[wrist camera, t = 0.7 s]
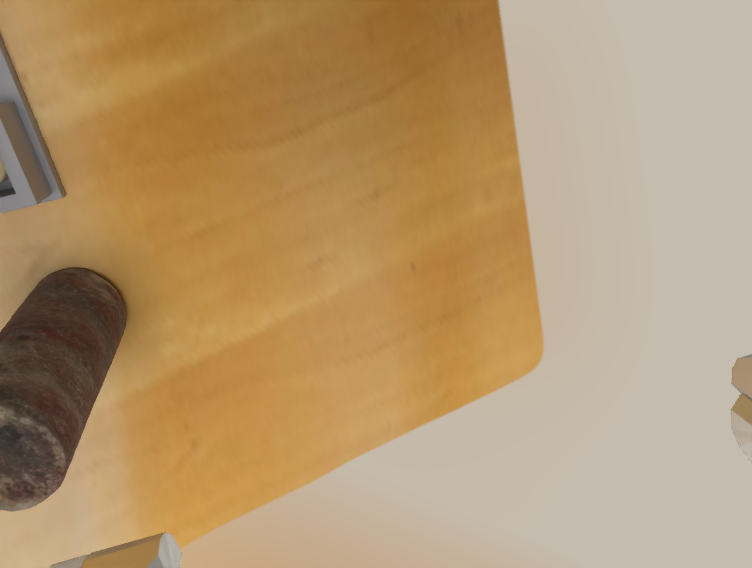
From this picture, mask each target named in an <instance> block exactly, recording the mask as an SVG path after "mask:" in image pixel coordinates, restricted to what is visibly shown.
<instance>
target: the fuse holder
mask: <svg viewBox="0 0 752 568" xmlns="http://www.w3.org/2000/svg"><path fill="white" fill-rule="evenodd" d="M0 159H1V161H2V163H3V165H4V168H5V170H6V172H7V174H8V177H9V178H8V179H7V180H6V181H4V182H3V183H1V184H0V213H3V212H8V211H12V210H16V209H20V208H24V207H29V206H33V205H37V204H39V203H43V202H48V201H52V200H56V199H60V198H63V197H64V196H65V195H66V193H65V191H64V188H63V186H62V184H61V181H60V179H59V176H58V174H57V171H56V169H55V167H54V164H53V162H52V159H51V157H50V154H49V152H48V150H47V147H46V145H45V142H44V140H43V137H42V135H41V133H40V130H39V128H38V125H37V123H36V120H35V118H34V116H33V113H32V111H31V108H30V106H29V103H28V101H27V99H26V96H25V94H24V91H23V89H22V86H21V84H20V82H19V79H18V77H17V74H16V72H15V69H14V67H13V65H12V62H11V60H10V57H9V55H8V52H7V50H6V48H5V45H4V43H3V40H2V38H1V35H0Z"/></svg>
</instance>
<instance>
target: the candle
mask: <svg viewBox="0 0 752 568" xmlns="http://www.w3.org/2000/svg"><path fill="white" fill-rule="evenodd" d="M125 325H126V311H125V307H124V305H123V302H122V300H121V298H120V296H119V294H118V292H117V291H116V289H115V288H114V287H113V286H112V285H110V284H109V283H108V282H107V281H105V280H103V279H102V278H101V277H99V276H97V275H96V274H94V273H93V272H92V271H89V270H86V269H80V268H71V269H65V270H61V271H58V272H56V273H52V274H50V275H48V276H47V277H46V278H44V279H43V280H42V281H40V282H39V283H38V285H37V286H36V287H35V288H34V290H33V291H32V292H31V293H30V294H29V296H28V297H27V298H26V299H25V301H24V302H23V303H22V304H21V306H20V307H19V308H18V310H17V311H16V312H15V313H14V315H13V316H12V317H11V319H10V320H9V322H8V323H7V324H6V326H5V327H4V328H3V329H2V330H1V332H0V510H6V511H18V510H24V509H29V508H31V507H33V506H35V505H37V504H39V503H41V502H42V501H44V500H45V499H47V498H48V497H49V496H50V495H51V494H53V493H54V492H55V491H56V490H57V489H58V488H59V487H60V486H61V484H62V482H63V480H64V478H65V475H66V473H67V470H68V468H69V465H70V463H71V461H72V458H73V455H74V453H75V450H76V448H77V445H78V443H79V440H80V438H81V435H82V433H83V430H84V428H85V425H86V422H87V420H88V417H89V415H90V413H91V410H92V407H93V405H94V403H95V400H96V398H97V396H98V394H99V391H100V389H101V387H102V385H103V382H104V380H105V377H106V375H107V372H108V370H109V367H110V365H111V363H112V361H113V358H114V356H115V353H116V351H117V348H118V346H119V343H120V341H121V338H122V336H123V332H124V329H125Z"/></svg>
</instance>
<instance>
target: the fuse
mask: <svg viewBox="0 0 752 568" xmlns="http://www.w3.org/2000/svg"><path fill="white" fill-rule="evenodd" d="M8 178H9V177H8V174H7V172H6V170H5V168H4V165H3V163H2V161H1V159H0V184H1V183H3V182H4V181H6V180H7V179H8Z"/></svg>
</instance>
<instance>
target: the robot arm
mask: <svg viewBox="0 0 752 568" xmlns="http://www.w3.org/2000/svg"><path fill="white" fill-rule="evenodd" d="M732 385H733V386H734V387H735V388H736V389H737V390H738V391H739V392H740V393H741V395H740V396H739V398H738V399H737V401H736V402H735V404H734V406H733V407H732V409H731V420H732V430H733V433H734V435H735V438H736V440H737V442H738V445H739V447H740V448H741V450H742V451H743V452H744V454H745V455H746V456H747V458H748V459H749V460H750V461H751V462H752V354H751V355H748V356H744V357H741V358H738V359H737V360H736V362H735V364H734V367H733V368H732ZM181 555H182V552H181V550H180V548H179V546H178V545H177V543H176V541H175V539H174V537H173V535H172V534H169V533H167V532H164V533H161V534H157V535H153V536H150V537H146V538H143V539H139V540H136V541H132V542H128V543H125V544H121V545H118V546H114V547H111V548H107V549H103V550H100V551H96V552H93V553H91V554H90V555H84V556H81V557H77V558H74V559H70V560H67V561H63V562H60V563H56V564H53V565H51V566H50V567H49V568H180V563H181Z"/></svg>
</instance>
